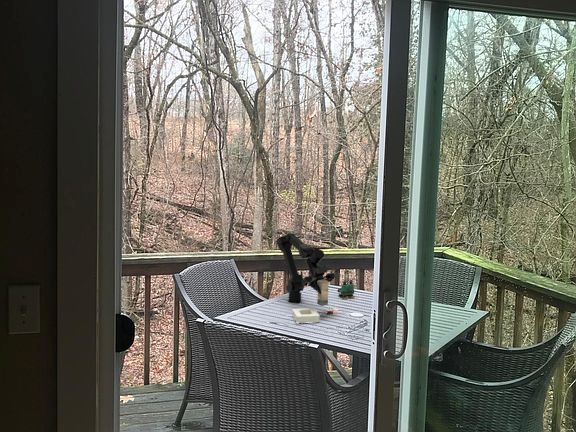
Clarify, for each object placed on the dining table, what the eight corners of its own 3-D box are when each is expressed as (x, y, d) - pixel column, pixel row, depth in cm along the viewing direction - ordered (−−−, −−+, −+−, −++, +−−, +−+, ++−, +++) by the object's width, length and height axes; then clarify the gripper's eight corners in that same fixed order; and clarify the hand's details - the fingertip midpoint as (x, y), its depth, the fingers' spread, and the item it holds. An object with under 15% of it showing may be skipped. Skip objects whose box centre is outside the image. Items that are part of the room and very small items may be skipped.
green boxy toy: (347, 277, 367) (356, 280, 358) (347, 294, 368) (356, 298, 360) (334, 279, 363) (343, 282, 354) (334, 296, 364) (343, 300, 355)
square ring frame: (292, 316, 329) (292, 308, 328) (313, 314, 331) (314, 307, 330) (296, 324, 317) (296, 316, 317) (319, 323, 320) (319, 315, 319)
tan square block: (317, 303, 328) (318, 280, 326) (323, 302, 330) (324, 279, 328) (321, 306, 325) (322, 282, 322) (327, 304, 327) (328, 281, 324)
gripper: (304, 262, 322) (315, 288, 314) (334, 258, 331) (345, 283, 324) (296, 272, 330) (307, 298, 323) (325, 268, 339) (336, 293, 332)
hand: (324, 293), depth 325 cm, fingers closed on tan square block, 4 cm apart
